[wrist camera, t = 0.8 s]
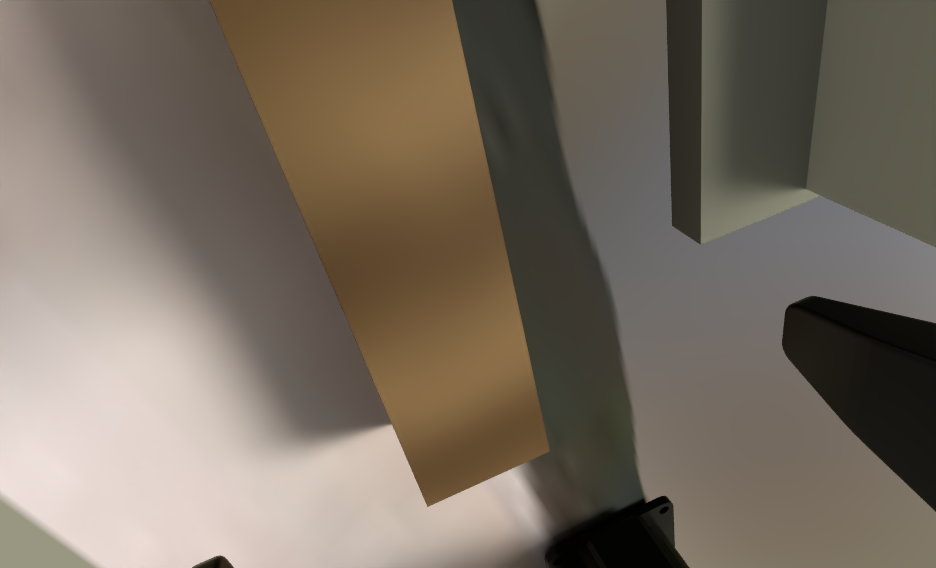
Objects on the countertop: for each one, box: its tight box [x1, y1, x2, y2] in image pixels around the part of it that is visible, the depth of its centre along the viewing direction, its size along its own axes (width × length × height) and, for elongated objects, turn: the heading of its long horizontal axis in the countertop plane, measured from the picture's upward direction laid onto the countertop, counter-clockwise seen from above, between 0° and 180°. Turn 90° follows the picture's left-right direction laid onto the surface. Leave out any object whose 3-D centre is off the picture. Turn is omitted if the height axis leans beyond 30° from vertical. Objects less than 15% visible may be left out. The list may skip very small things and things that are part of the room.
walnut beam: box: [209, 0, 550, 507], centre depth 15 cm, size 16×4×4 cm, turn 14°
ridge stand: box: [666, 0, 936, 247], centre depth 15 cm, size 12×10×6 cm
